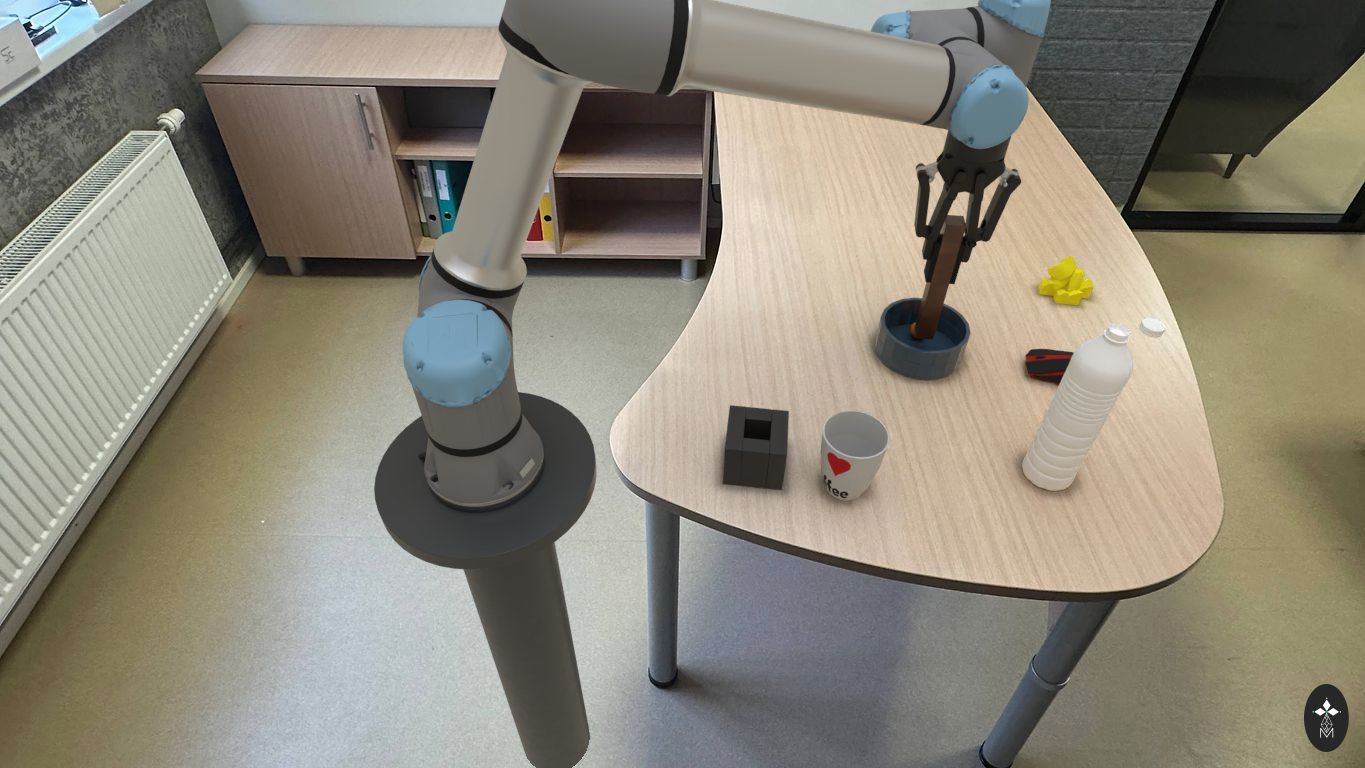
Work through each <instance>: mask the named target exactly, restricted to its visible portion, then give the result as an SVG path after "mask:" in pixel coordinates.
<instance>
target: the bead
mask: <svg viewBox="0 0 1365 768" xmlns="http://www.w3.org/2000/svg"><path fill="white" fill-rule="evenodd" d="M915 323H916V322H915ZM915 323H913V324H912V325H911V327H910V333H911V335H912V336H913V337H915V338H916V336H915V329H914V327H915Z"/></svg>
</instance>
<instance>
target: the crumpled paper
mask: <svg viewBox="0 0 1365 768" xmlns="http://www.w3.org/2000/svg"><path fill="white" fill-rule="evenodd" d="M1046 270H1047V273H1048V275H1049V276H1050V278H1042V279H1041V280H1040V283H1039V285H1038V288H1037V290H1038V294H1039V295H1041V296H1052V298H1053V301H1054V303H1055V304H1059V305H1069V306H1070V305H1071V306H1079V305H1080V303H1081V301H1082V299H1086V300H1087V299H1088V300H1089V299H1090V297H1091V295H1092V293H1093V290H1094V288H1095V287H1094V283H1093V281H1092V278H1091V277H1088V278H1085V271H1084V270H1082V269H1081V268H1080V267H1078V265H1077V263H1076V261H1075V258H1074V255H1069V256H1066V257H1064V258H1063V259H1061V261H1060V262H1059V263H1057V264H1055V265H1052V266H1050V267H1049V268H1048V267H1047V268H1046Z"/></svg>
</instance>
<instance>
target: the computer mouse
mask: <svg viewBox="0 0 1365 768" xmlns="http://www.w3.org/2000/svg"><path fill="white" fill-rule="evenodd" d="M1074 352H1075V351H1067V350H1058V349H1049V348H1032V349H1030V350H1028V352H1027V353H1026V354H1025V361H1024V364H1025V368H1026V372H1027V374H1028V376H1029V377H1030V378H1031V379H1033V380H1037V381H1040V382H1046V383H1050V384H1053V385H1056V386H1057V387H1058V386H1059V384H1060V382H1061V380H1062V378H1063V376H1064V373H1065V371H1066V369H1067V367H1068V365H1069V363H1070V360H1071V358H1072V355H1073V353H1074Z"/></svg>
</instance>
